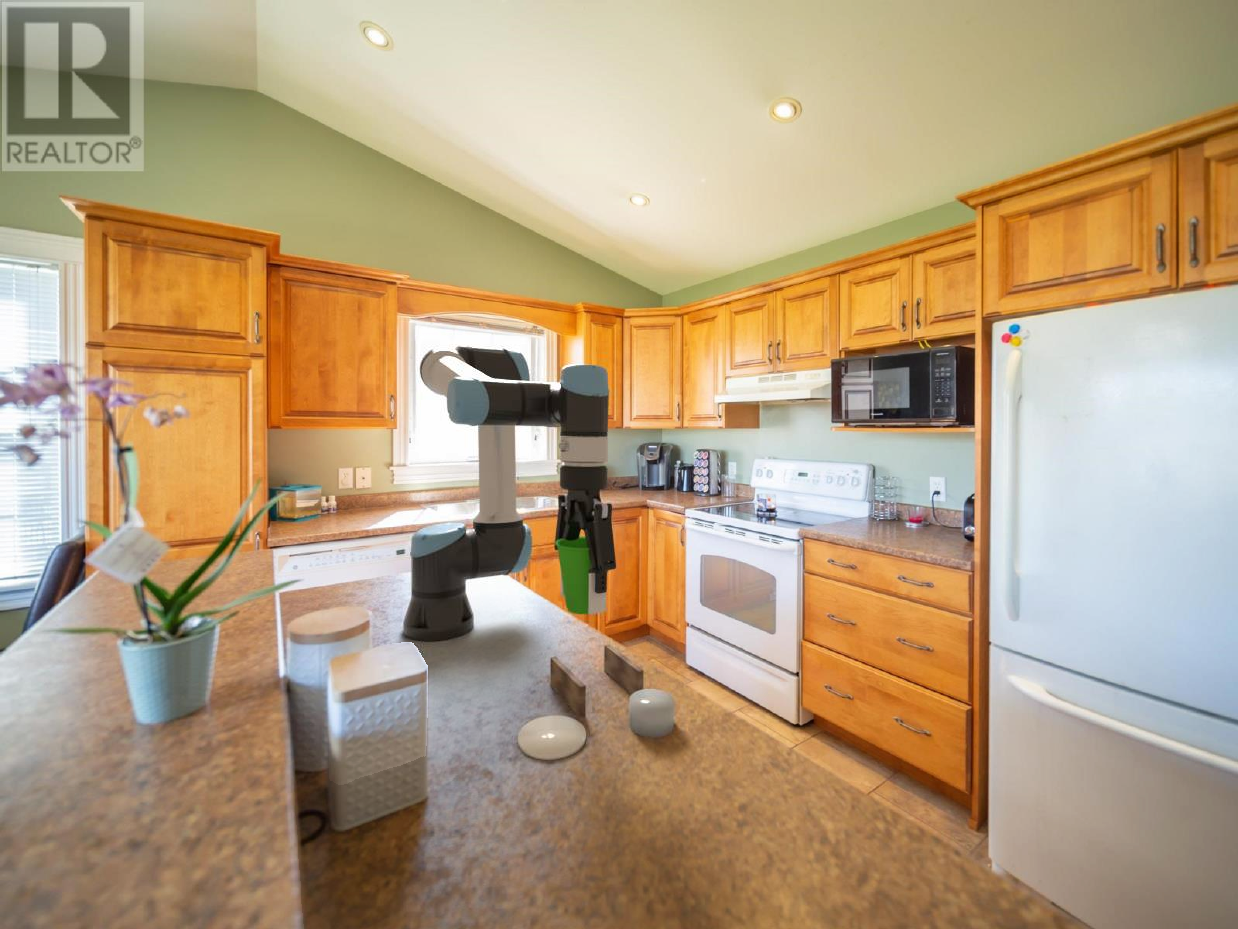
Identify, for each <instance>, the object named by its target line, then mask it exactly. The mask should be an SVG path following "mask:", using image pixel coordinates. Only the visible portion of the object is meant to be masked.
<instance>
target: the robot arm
mask: <svg viewBox="0 0 1238 929" xmlns="http://www.w3.org/2000/svg"><path fill="white" fill-rule="evenodd" d="M419 374H420V375H419V376H420V378H421V381H422V382H423V385H425V387H427V389H429V390H430V391H431V392H433V393H434V394H437V395H440V396H444V397H445V398H446V408H447V409H446V410H447V413H448V418H449V419H450V421H451V422H452V423H453V424H455V425H465V426H466V425H468V426H471V427H476V426H477V429H478V430H477V432H478V433H477V437H478V438H477V439H478V441H477V442H478V443H477V444H478V494H479V495H478V496H479V498H478V499H479V500H478V503H479V506H478V507H479V512H478V514H477V515H476V516H475V517H474V518H473V519H472V528H467V527H466V524H465V523H463V522H456V521H454V522H443V523H438V524H433V525H429V526H426V527H423V528H421V529H418V530H417V531H415V532H414V534H413V535H412V536H411V539H410V540H411V541H410V552H409V555H410V570H411V572H410V573H411V574H410V576H411V578H410V579H411V580H410V583H411V584H410V587H411V590H410V591H411V592H410V595H411V598H410V599H409V600H410V601H409V603H408V606H407V610H406V612H405V616H404V619H403V621H402V622H403V624H402V626H403V627H402V628H403V629H402V630H403V631H402V632H403V635H404V636H405V637H407V638H409V639H412V640H415V641H426V642H433V641H442V640H444V641H445V640H448V639H453V638H457V637H460V636H462V635H464V634H466V633H468V632H469V631H471V630H472V629H473V627H474V625H475V624H474V623H475V622H474V618H475V617H474V616H475V615H474V612H473V609H472V607H471V606H472V605H471V603H470V601H469V598H468V595H467V590H466V588H467V585H466V584H467V583H466V582H467V580H473V579H480V578H489V577H497V576H509V575H510V574H511V575H513V574H516V573H521V572H522V571H524V570H525V569H526V567H527V566H528V564H529V562H530V560H531V556H532V551H533V536H532V530H531V528H530V526H529V525H528V524H526V523H524V518H523V516H522V515H521V514H520V513H519V512H518V511H517V476H516V475H517V473H516V472H517V471H516V470H517V469H516V467H517V466H516V464H517V463H516V461H517V460H516V426H517V427H546V428H560V443H558V448H559V450H560V462H562V463H564V464H563V465H561V467H560V468H559V486H560V488H561V489H563V490H566V491H567V493H566V494H558V496H557V502H558V509H557V520H556V521H557V522H556V526H555V527H556V529H555V537H554V543H555V542H556V541H557V540H559V539H562V538H565V539H566V540H569V541H572V540H576V539H578V538H579V536H581V535H580V534H581V531H583V533H584V536H585V538H586V543H587V547H588V548H589V550H588V552H589V557H590V561H591V566H592V568H591V569H589V570H588V572H589V608H588V613H589V614H588V615H597V614H600V613H606V612H607V592H608V591H607V589H608V581H607V580H608V572H609V571H611V570H616V568H617V561H616V549H615V543H614V532H613V521H612V517H613V516H612V514H613V505H612V503H605V502H602V498H601V491H602V490H606V488H608V467H607V465H605V463H607V462H608V459H609V451H608V450H609V449H608V448H609V438H608V433H609V404H610V403H609V399H610V396H609V395H610V389H609V372H608V371H607V369H606V368H605V367H604V366H601V365H596V364H568V365H565V366H563V367H562V369H561V371H560V379H559V382H545V381H531V380H530V379H531V377H530V370H529V366H528V363H527V360H526V358H525V356H524V355H523V354H522V352H520V351H519V350H518V349H512V348H507V347H504V346H489V345H478V344H466V343H461V342H457V343H446V344H442V345H439V346H436V347H434V348H433V349H430V350H429V351H427V353H425V354H424V356H423V358H422V360H420V364H419ZM553 546H554V551H558V548H557V546H556V545H555V544H554V545H553ZM560 596H561V597H564V598H565V595H564V588H563V581H562V574H561V573H560Z"/></svg>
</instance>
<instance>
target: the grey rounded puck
mask: <svg viewBox="0 0 1238 929" xmlns="http://www.w3.org/2000/svg"><path fill="white" fill-rule="evenodd" d="M675 703H676V702H675V698H674V697H673V696H672V695H671V693H668V692H666V691H664V690H661V689H658V688H657V689H656V688H643V690H639V691H636V692H634V693H633V694H630V697H629V705H628V706H629V707H628V708H629V709H628V712H629V713H628V716H629V717H628V726H629V728H630V730H631V731H632V732H633V733H635V734H636V735H638V736H641V737H643V738H652V739H656V738H661V737H665V736H667V735H669V734H670V733H672V731H673V730H674V726H675Z"/></svg>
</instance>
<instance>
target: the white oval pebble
mask: <svg viewBox="0 0 1238 929" xmlns="http://www.w3.org/2000/svg"><path fill="white" fill-rule="evenodd" d="M586 742H587V730H586V728H585V726H584V725H583V723H581V722H580V721H578V720H576V719H575V718H572V717H569V716H564V715H548V716H542V717H541V716H540V717H538V718H535V719H532V720H531V721H529V722H528V723H526V724H524V726H522V727H521V729H520V730H519V732H518V734H517V744H518V747H519V749H520V750H521V752H523V754H524V755H526V756H528V757H531V758H533V759H537V760H543V761H554V760H561V759H565V758H568V757H570V756H573V755H574V754H576V753H578V752H579V751H580V750H581V749H582V748H583V747H584V746H585V744H586Z"/></svg>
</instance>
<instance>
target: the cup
mask: <svg viewBox="0 0 1238 929" xmlns="http://www.w3.org/2000/svg"><path fill="white" fill-rule="evenodd" d="M554 545H556V546H557V548H558V550H557V554H558V560H559V567H560V568H559V569H560V575H561V574H562V581H563V588H564V595H565V596H564V601H565V607H566V609H567V612H569V613H571V614H573V615H574V614H575V615H590V614H589V613H588V608H589V572H588V570H589V569H591V568H592V566H591V561H590V557H589V552H588V550H589V548H588V547H587V543H586V538H585V535H582V536H581V535H579V538H578V539H576V540H572V541H569V540H566V539H565V538H562V539H559V540H557V541H556V542H555V541H554Z"/></svg>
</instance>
